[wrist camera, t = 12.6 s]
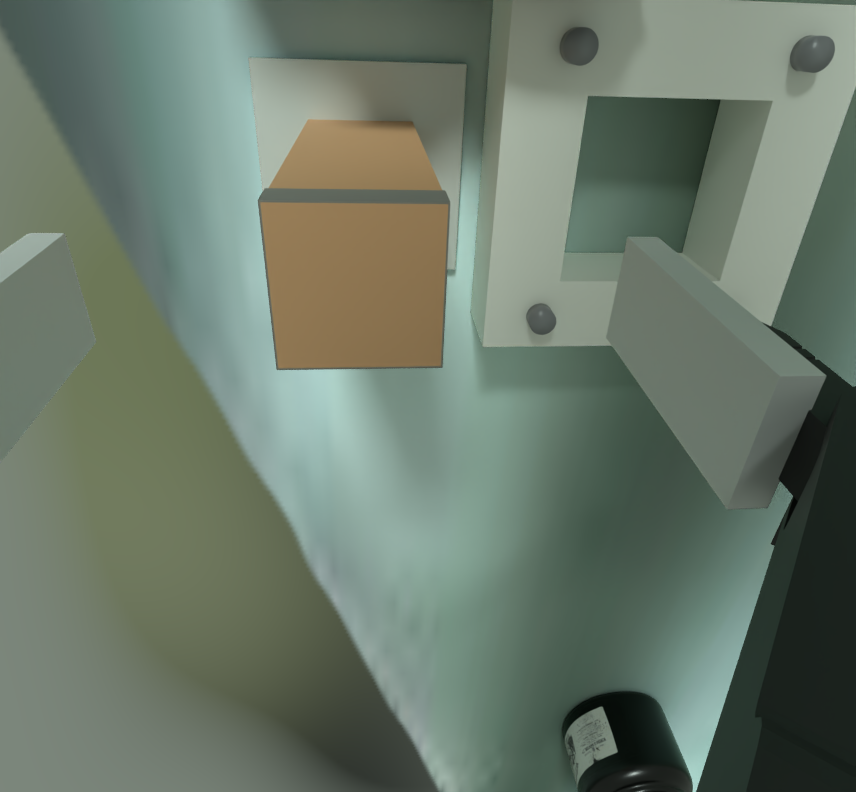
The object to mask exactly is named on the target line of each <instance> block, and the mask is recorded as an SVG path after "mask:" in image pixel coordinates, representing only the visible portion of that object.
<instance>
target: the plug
mask: <svg viewBox="0 0 856 792" xmlns="http://www.w3.org/2000/svg"><path fill="white" fill-rule="evenodd" d="M258 206H259V215H260V224H261V233H262V242H263V251H264V260H265V269H266V278H267V287H268V296H269V305H270V314H271V323H272V332H273V341H274V350H275V359H276V368H277V370H308V369H381V368H442V365H443V344H444V324H445V304H446V284H447V263H448V243H449V223H450V200H449V198H448V195H447V193H446V191H445V190H442V188H441V186H440V184H439V182H438V179H437V177H436V175H435V172H434V170H433V168H432V165H431V163H430V161H429V159H428V156H427V154H426V152H425V149H424V147H423V145H422V142H421V140H420V138H419V136H418V133H417V131H416V129H415V126H414V124H413V122H409V121H363V120H317V119H308V120H307V122H306V124H305V126H304V127H303V129H302V131H301V132H300V134H299V136H298V138H297V139H296V141H295V143H294V145H293V146H292V148H291V150H290V152H289V153H288V155H287V157H286V158H285V160H284V162H283V164H282V165H281V167H280V169H279V171H278V172H277V174H276V176H275V178H274V179H273V181H272V183H271V184H270V186H269V188H265V189H264V191H263V192H262V194H261V196H260V197H259V199H258Z"/></svg>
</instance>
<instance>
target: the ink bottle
mask: <svg viewBox="0 0 856 792" xmlns="http://www.w3.org/2000/svg"><path fill="white" fill-rule="evenodd" d="M563 737H564V741H565V745H566V749H567V752H568V756H569V760H570V763H571V767H572V771H573V774H574V778H575V782H576V785H577V789H578V792H692V790H693V784H692V779H691V776H690V773H689V770H688V768H687V766H686V763H685V761H684V759H683V756H682V754H681V752H680V749H679V747H678V745H677V742H676V740H675V738H674V735H673V733H672V731H671V728H670V726H669V724H668V721H667V719H666V717H665V714H664V712H663V710H662V708H661V706H660V704H659V703H658V702H657V701H656V700H655V699H654V698H652V697H650V696H648V695H645V694H642V693H635V692H620V693H611V694H606V695H602V696H598V697H595V698H592V699H590V700H588V701H586V702H584V703H582V704H580V705H579V706H578V707H576V708H575V709H574V710H573V711H572V712H571V713H570V714H569V716H568V717H567V719H566V721H565V723H564V727H563Z"/></svg>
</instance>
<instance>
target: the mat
mask: <svg viewBox="0 0 856 792" xmlns="http://www.w3.org/2000/svg"><path fill="white" fill-rule="evenodd" d="M248 59H249V68H250V78H251V87H252V96H253V106H254V115H255V125H256V134H257V143H258V153H259V162H260V172H261V181H262V190H263V191H264V189H265V188H269V186H270V184H271V183H272V181H273V179H274V178H275V176H276V174H277V172H278V171H279V169H280V167H281V165H282V164H283V162H284V160H285V158H286V157H287V155H288V153H289V152H290V150H291V148H292V146H293V145H294V143H295V141H296V139H297V138H298V136H299V134H300V132H301V131H302V129H303V127H304V126H305V124H306V122H307V120H308V119H317V120H363V121H409V122H413V124H414V126H415V129H416V131H417V133H418V136H419V138H420V140H421V142H422V145H423V147H424V149H425V152H426V154H427V156H428V159H429V161H430V163H431V165H432V168H433V170H434V172H435V175H436V177H437V179H438V182H439V184H440V186H441V188H442V190H445V191H446V193H447V195H448V198H449V200H450V223H449V243H448V263H447V269H455V263H456V246H457V228H458V210H459V193H460V175H461V157H462V139H463V122H464V104H465V86H466V69H467V64H457V63H424V62H391V61H358V60H325V59H292V58H259V57H249V58H248Z"/></svg>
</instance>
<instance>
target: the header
mask: <svg viewBox="0 0 856 792" xmlns="http://www.w3.org/2000/svg"><path fill="white" fill-rule="evenodd" d="M855 87H856V5H836V4H812V3H788V2H763V1H739V0H493V11H492V24H491V38H490V52H489V66H488V79H487V93H486V107H485V121H484V134H483V148H482V162H481V175H480V189H479V203H478V217H477V230H476V244H475V258H474V272H473V285H472V299H471V315H472V318H473V321H474V324H475V327H476V330H477V332H478V335H479V338H480V341H481V344H482V347H542V346H612V345H611V344H610V342H609V341H608V340H607V338H606V335H607V331H608V326H609V321H610V316H611V312H612V307H613V302H614V298H615V293H616V288H617V283H618V279H619V274H620V269H621V265H622V260H623V255H624V253H564V252H565V245H566V239H567V232H568V225H569V219H570V212H571V206H572V199H573V192H574V186H575V179H576V172H577V166H578V159H579V153H580V146H581V139H582V133H583V126H584V119H585V113H586V106H587V100H588V96H610V97H648V98H686V99H721V101H720V105H719V109H718V113H717V117H716V121H715V125H714V129H713V133H712V136H711V140H710V144H709V148H708V152H707V156H706V160H705V164H704V168H703V172H702V176H701V180H700V184H699V188H698V192H697V196H696V200H695V204H694V207H693V211H692V215H691V219H690V223H689V227H688V231H687V235H686V239H685V243H684V247H683V251H682V253H678V254H679V255H680V256H682V257H683V258H684V259H685V260H686V261H688V262H689V263H690V264H691V265H692V266H694V267H695V268H696V269H697V270H699V271H700V272H701V273H702V274H703V275H705V276H706V277H707V278H708V279H710V280H711V281H712V282H713V283H714V284H716V285H717V286H718V287H719V288H720V289H722V290H723V291H724V292H725V293H727V294H728V295H729V296H730V297H731V298H733V299H734V300H735V301H736V302H737V303H739V304H740V305H741V306H742V307H744V308H745V309H746V310H747V311H748V312H750V313H751V314H752V315H753V316H755V317H756V318H757V319H758V320H759V321H761V322H763V323H765V324H767V325H769V326H771V325H772V322H773V319H774V316H775V313H776V311H777V308H778V305H779V302H780V299H781V296H782V294H783V291H784V288H785V285H786V282H787V280H788V277H789V274H790V271H791V268H792V265H793V263H794V260H795V257H796V254H797V251H798V248H799V246H800V243H801V240H802V237H803V234H804V231H805V229H806V226H807V223H808V220H809V217H810V215H811V212H812V209H813V206H814V203H815V200H816V198H817V195H818V192H819V189H820V186H821V183H822V181H823V178H824V175H825V172H826V169H827V166H828V164H829V161H830V158H831V155H832V152H833V149H834V147H835V144H836V141H837V138H838V135H839V133H840V130H841V127H842V124H843V121H844V118H845V116H846V113H847V110H848V107H849V104H850V101H851V99H852V96H853V93H854V90H855Z"/></svg>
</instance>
